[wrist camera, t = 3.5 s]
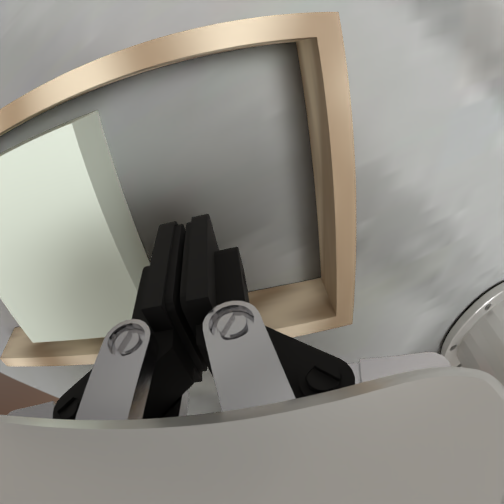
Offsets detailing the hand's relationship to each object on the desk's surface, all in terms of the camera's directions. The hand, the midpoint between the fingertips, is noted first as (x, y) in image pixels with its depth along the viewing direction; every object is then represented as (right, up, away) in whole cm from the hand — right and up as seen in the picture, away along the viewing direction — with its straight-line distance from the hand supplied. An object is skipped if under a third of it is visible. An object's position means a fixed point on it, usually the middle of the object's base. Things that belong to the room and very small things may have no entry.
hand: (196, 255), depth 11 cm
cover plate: (-10, +2, +6) cm, 12 cm away
